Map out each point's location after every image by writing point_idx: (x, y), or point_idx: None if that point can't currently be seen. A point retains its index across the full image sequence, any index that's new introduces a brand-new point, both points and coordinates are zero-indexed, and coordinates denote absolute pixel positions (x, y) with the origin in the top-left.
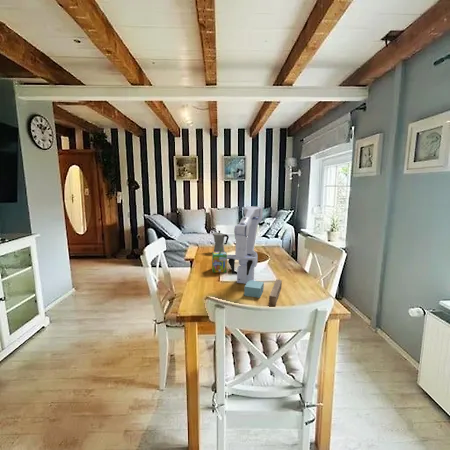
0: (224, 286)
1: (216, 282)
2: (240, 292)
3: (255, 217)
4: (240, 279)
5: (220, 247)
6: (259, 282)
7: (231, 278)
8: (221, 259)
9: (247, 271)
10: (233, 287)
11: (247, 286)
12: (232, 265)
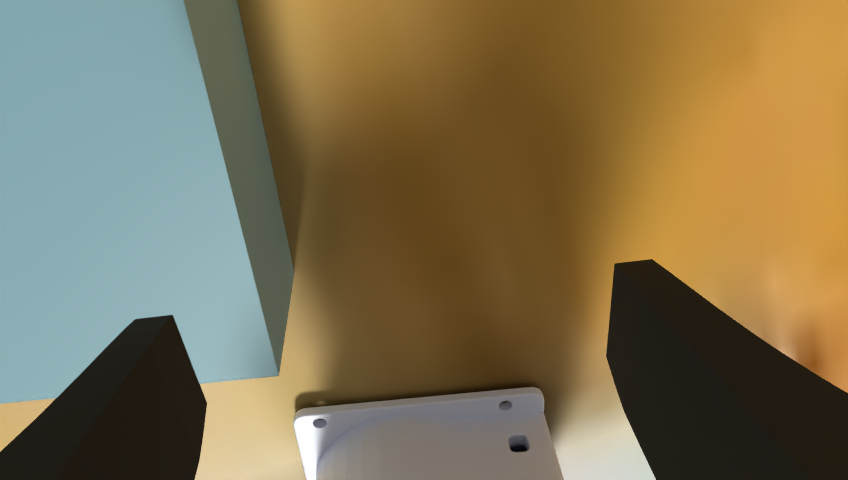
0: (693, 198)
1: (840, 288)
2: (354, 65)
3: None
4: (495, 445)
5: None
6: (26, 352)
7: (642, 473)
8: None
9: (90, 396)
10: (539, 219)
11: (114, 22)
12: (811, 457)
